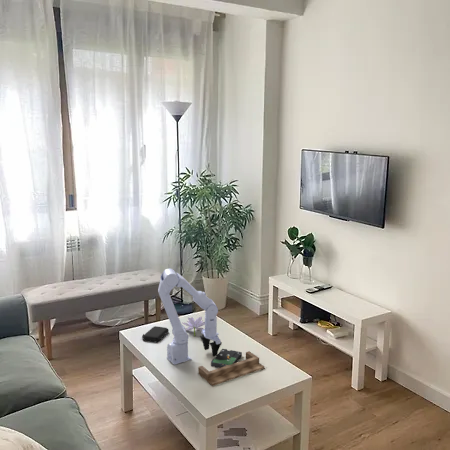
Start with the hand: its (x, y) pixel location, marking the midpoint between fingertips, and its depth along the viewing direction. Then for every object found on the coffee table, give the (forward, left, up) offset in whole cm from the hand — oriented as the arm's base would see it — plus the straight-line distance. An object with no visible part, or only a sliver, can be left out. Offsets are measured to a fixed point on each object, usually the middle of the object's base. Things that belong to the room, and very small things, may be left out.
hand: (210, 352), depth 226 cm
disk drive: (+3, -9, -2) cm, 10 cm away
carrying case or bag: (-14, +34, -2) cm, 37 cm away
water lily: (+7, +27, -2) cm, 28 cm away
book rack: (0, -19, -1) cm, 19 cm away
